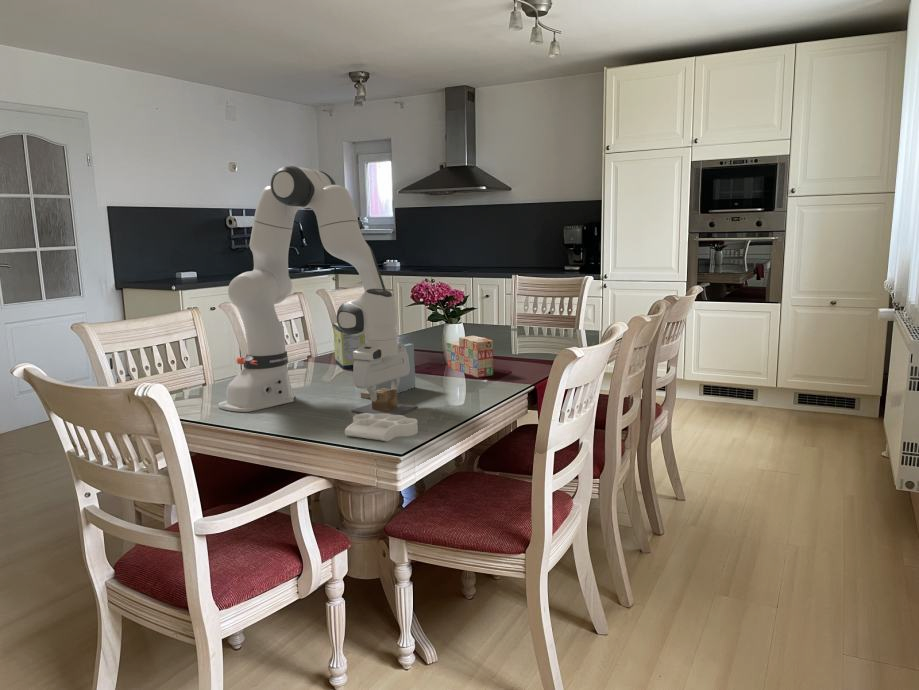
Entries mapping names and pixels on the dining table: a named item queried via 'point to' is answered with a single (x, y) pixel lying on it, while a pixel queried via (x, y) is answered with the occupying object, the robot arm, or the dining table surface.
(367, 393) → the pale blue flat slab
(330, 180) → the robot arm
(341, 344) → the protein box
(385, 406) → the walnut cube
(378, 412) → the mat
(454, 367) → the stack of blocks
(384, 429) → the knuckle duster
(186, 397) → the dining table surface
